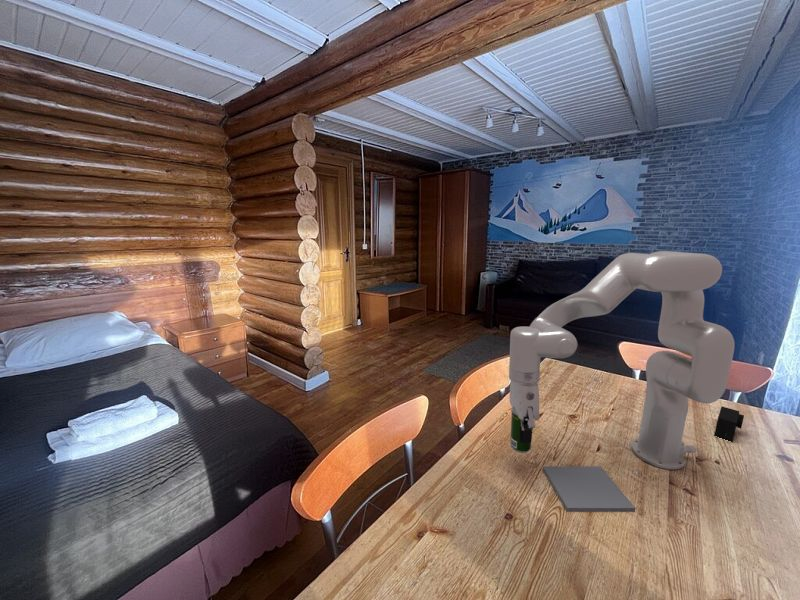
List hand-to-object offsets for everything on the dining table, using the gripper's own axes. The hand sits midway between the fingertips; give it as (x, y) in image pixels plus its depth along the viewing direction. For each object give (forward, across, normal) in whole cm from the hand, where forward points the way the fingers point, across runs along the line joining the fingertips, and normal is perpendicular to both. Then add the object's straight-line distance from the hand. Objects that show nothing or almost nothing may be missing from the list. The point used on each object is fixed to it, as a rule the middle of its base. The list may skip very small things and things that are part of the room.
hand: (521, 434), depth 91 cm
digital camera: (+13, +15, -72) cm, 75 cm away
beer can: (+4, 0, 0) cm, 4 cm away
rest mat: (+11, -8, -14) cm, 19 cm away
